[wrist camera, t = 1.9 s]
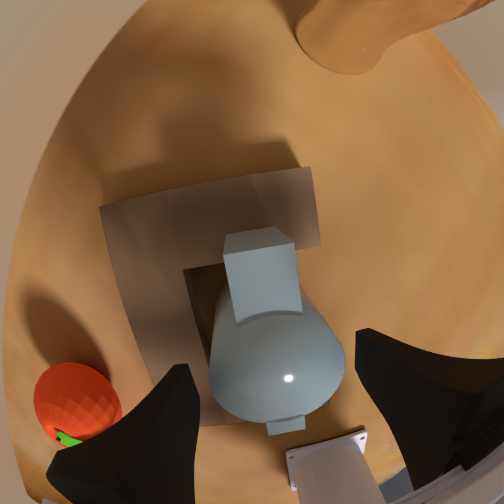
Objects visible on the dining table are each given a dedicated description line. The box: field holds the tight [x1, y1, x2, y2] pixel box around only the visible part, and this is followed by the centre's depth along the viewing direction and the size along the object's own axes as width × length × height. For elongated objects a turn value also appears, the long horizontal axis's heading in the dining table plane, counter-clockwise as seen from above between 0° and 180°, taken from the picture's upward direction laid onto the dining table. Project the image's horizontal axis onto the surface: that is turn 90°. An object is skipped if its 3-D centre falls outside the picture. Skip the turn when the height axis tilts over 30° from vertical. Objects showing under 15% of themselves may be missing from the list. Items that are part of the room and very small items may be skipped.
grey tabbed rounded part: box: [208, 226, 345, 436], centre depth 13 cm, size 9×6×7 cm, turn 9°
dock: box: [99, 167, 329, 427], centre depth 16 cm, size 16×11×2 cm
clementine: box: [34, 362, 122, 448], centre depth 14 cm, size 8×7×7 cm
